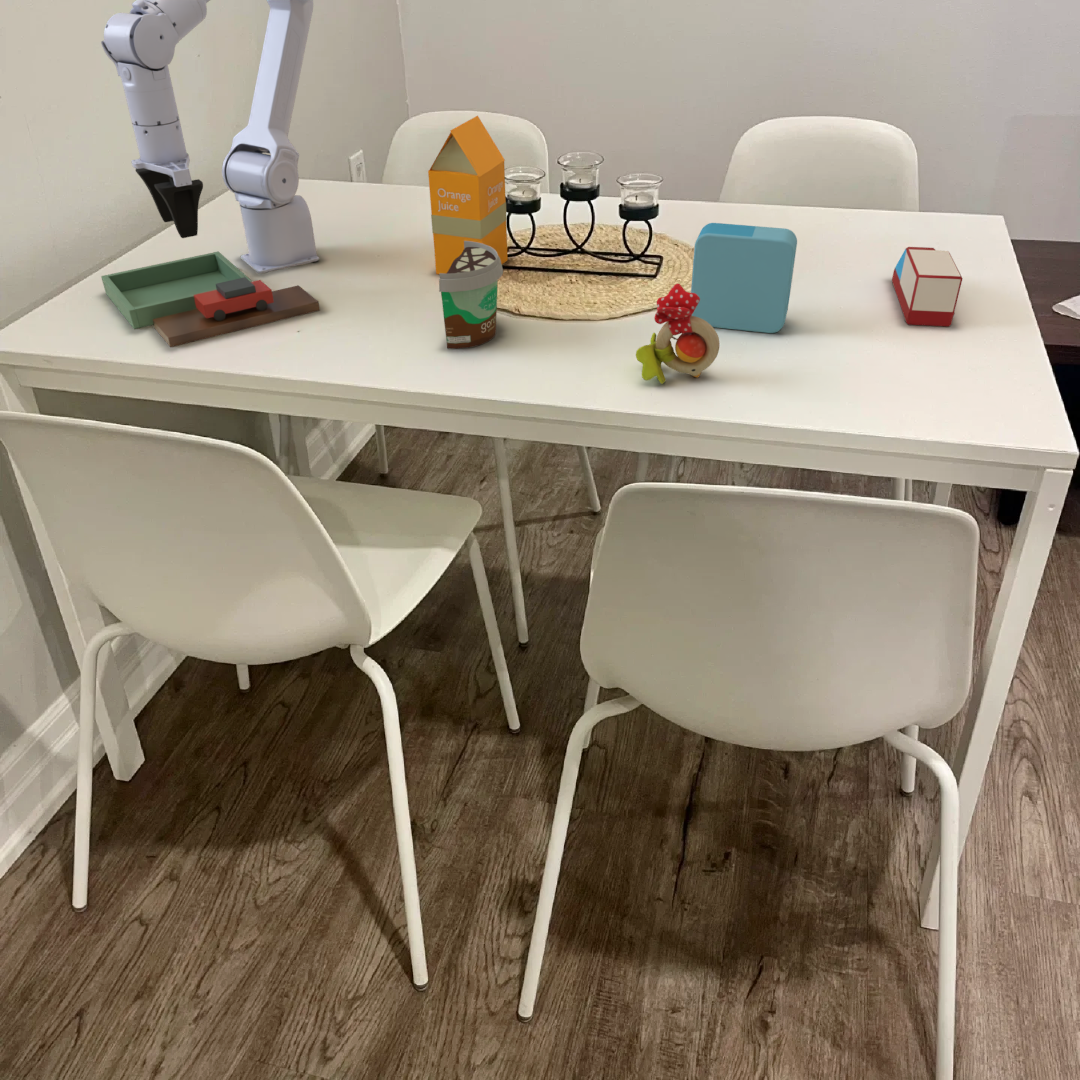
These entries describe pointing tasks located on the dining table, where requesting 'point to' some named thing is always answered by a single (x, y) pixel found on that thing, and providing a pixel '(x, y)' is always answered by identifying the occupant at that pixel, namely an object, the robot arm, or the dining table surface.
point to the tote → (167, 286)
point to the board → (234, 318)
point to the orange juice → (467, 194)
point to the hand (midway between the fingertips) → (180, 228)
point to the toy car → (233, 298)
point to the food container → (471, 296)
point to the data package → (743, 276)
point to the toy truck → (927, 286)
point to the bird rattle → (692, 345)
